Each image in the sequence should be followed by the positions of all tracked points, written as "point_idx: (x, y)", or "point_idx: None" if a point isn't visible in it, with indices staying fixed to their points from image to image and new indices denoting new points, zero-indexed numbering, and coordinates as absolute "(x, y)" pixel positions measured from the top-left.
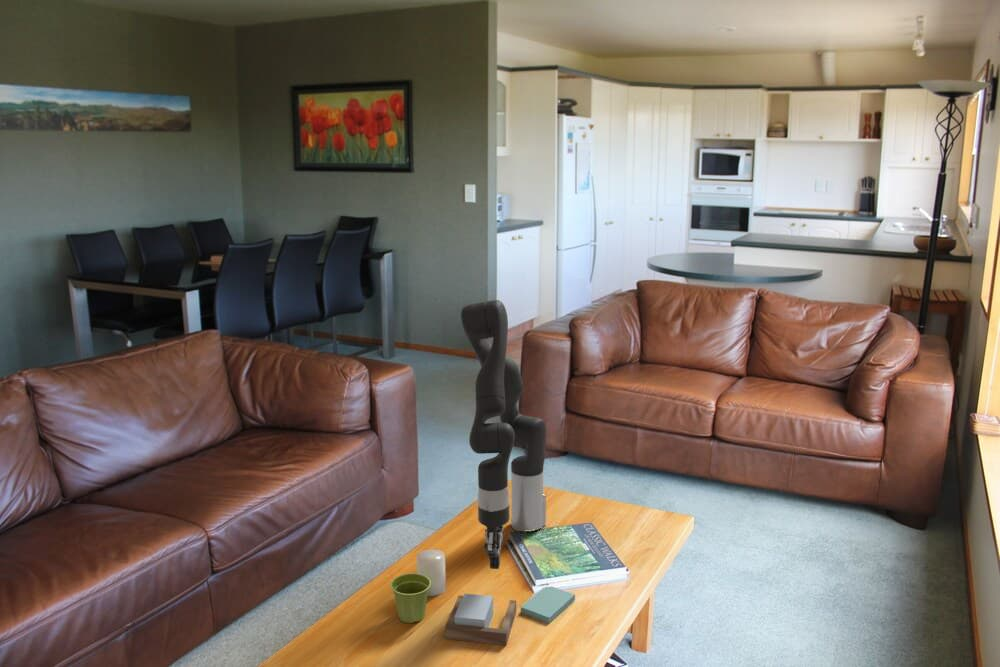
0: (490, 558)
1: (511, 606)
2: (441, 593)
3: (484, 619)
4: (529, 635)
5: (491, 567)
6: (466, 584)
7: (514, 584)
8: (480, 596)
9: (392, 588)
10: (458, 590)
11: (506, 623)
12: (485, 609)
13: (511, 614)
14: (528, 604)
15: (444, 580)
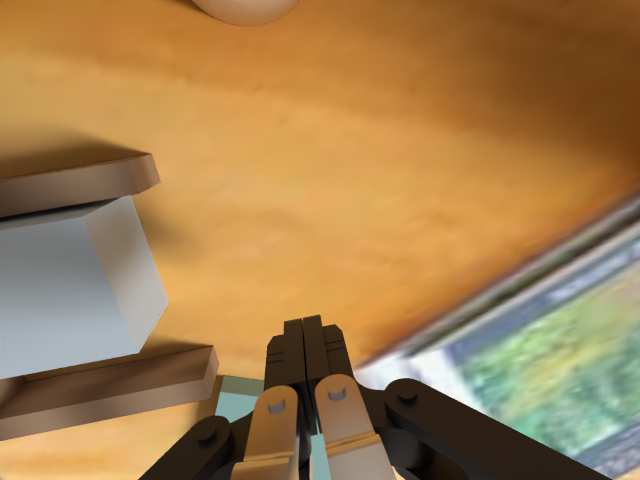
0: (283, 368)
1: (162, 398)
2: (217, 18)
3: None
4: (111, 437)
5: (273, 338)
6: (340, 114)
7: (393, 297)
8: (103, 303)
9: None
10: (278, 96)
11: (38, 424)
12: (9, 365)
13: (108, 417)
14: (247, 406)
15: (240, 8)
